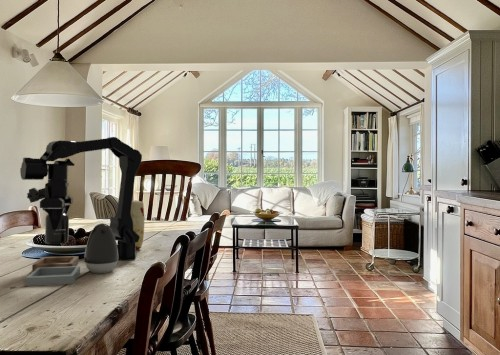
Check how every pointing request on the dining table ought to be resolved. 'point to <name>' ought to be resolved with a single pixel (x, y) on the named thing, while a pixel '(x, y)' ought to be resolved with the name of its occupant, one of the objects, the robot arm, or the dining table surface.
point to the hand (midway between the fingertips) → (57, 228)
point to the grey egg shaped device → (101, 250)
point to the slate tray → (53, 275)
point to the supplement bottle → (57, 230)
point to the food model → (138, 220)
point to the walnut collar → (56, 262)
